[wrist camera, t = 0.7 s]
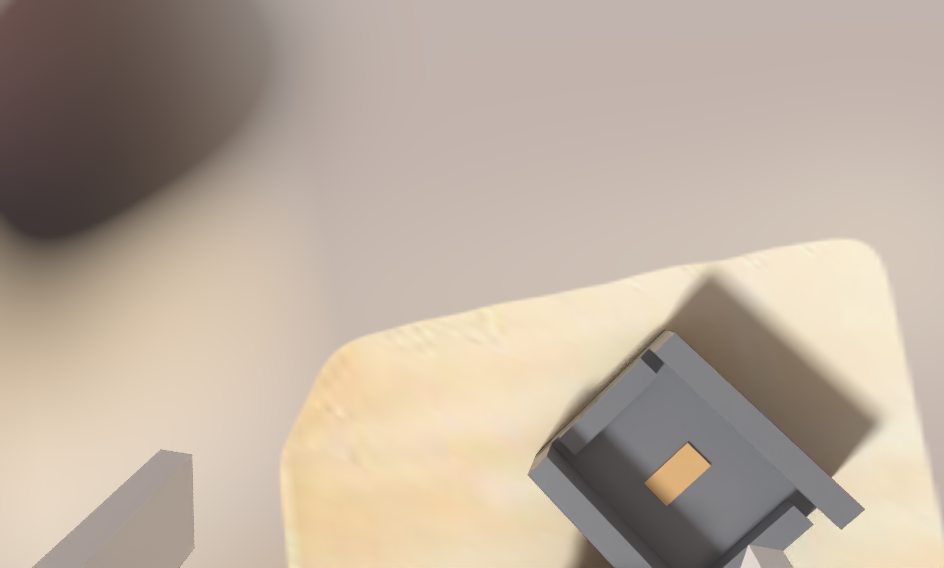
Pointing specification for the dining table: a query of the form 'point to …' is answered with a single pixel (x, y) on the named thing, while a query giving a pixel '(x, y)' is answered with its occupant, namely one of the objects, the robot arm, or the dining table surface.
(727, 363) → the dining table surface
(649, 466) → the cradle
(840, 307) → the dining table surface
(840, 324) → the dining table surface
